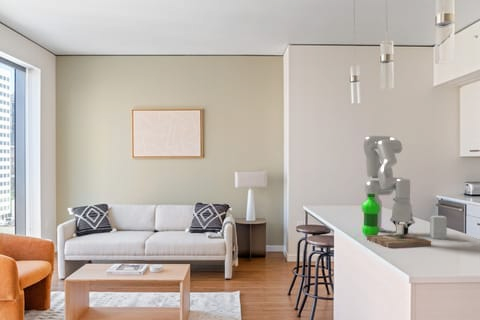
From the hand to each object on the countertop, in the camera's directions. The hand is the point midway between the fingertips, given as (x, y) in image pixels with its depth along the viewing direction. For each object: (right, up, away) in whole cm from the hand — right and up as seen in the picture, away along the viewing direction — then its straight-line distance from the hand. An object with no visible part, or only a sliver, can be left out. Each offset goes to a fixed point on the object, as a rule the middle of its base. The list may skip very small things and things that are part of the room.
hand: (402, 233), depth 227 cm
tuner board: (-3, -4, -3) cm, 6 cm away
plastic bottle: (-13, -4, +14) cm, 20 cm away
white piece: (-2, -2, -2) cm, 3 cm away
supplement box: (+26, -5, +12) cm, 29 cm away
